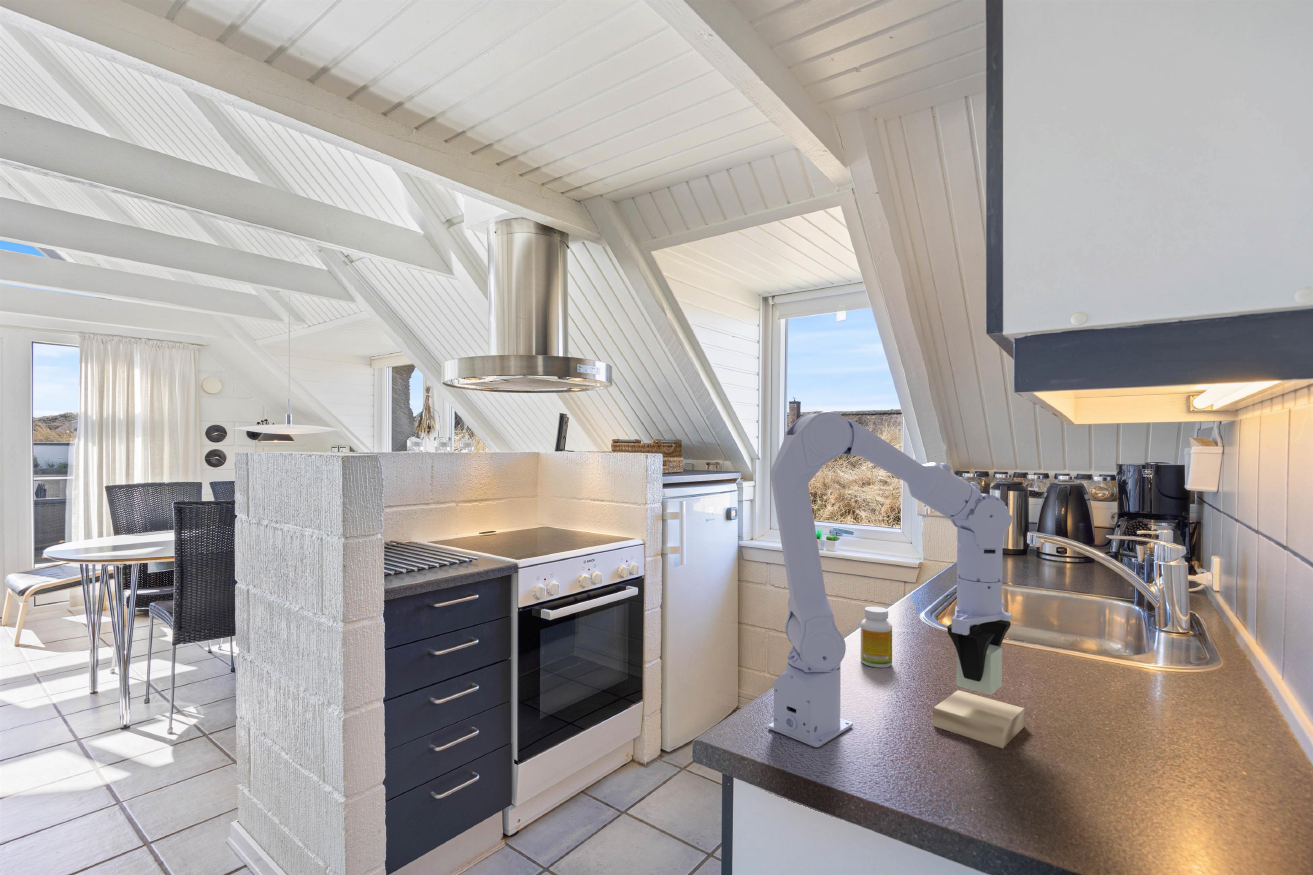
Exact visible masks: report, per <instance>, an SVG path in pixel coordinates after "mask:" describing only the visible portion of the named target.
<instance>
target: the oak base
mask: <svg viewBox="0 0 1313 875" xmlns="http://www.w3.org/2000/svg"><path fill="white" fill-rule="evenodd" d="M932 718H933V727H936V728H939V729H941V730H945V731H948V732H951V733H954V734H957V735H960V736H963V737H966V738H968V739H969V738H970V739H973V740H975V741H978V742H982V743H985V744H988V745H991V746H993V747H996V748H1000V749H1004V748H1006V746H1007V745H1008V744H1009V743H1010V742H1011V741H1012V739H1014V737H1016V736H1017V735H1018V734H1019V733H1020V732H1021V730H1023V728H1025V707H1021V706H1019V705H1018V706H1017V705H1013V704H1009V703H1007V702H1004V701H999V700H996V699H992V698H990V697H989V698H988V697H986V696H985V697H984V696H981V695H977V694H974V693H971V692H966V691H963V690H961V689H960V690H959V689H957V690H956V691H955V692H953V693H951V695H949V696H948V697H946V698H945V699H943V700H942V701H941V702H940V703H938V704H936V705H935V706H934V707H933V717H932Z"/></svg>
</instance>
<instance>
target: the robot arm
mask: <svg viewBox="0 0 1313 875" xmlns="http://www.w3.org/2000/svg"><path fill="white" fill-rule="evenodd" d="M841 455H844V456H845V455H846V456H854V457H855V456H857V457H860V458H861V459H864V460H866V461H867V462H869V463H870V464H873V465H874V466H877V467H878V468H880V469H882V470H883V471H885V472H886V473H889V474H890V475H892V476H894V477H896V478H898V479H900V480H902V481H903V482H905V483H906V484H907V487H908V491H909V494H910V496H911V497H912V498H914V499H916V500H917V501H918V502H920V503H922V504H924V505H925V506H927V507H928V508H930V509H931V510H934V511H935V512H937V513H938V514H940V515H942V516H943V517H946V519H949V520H950V522H951V524H952V525H953V526H954V527H955V528H957V529H956V534H957V535H956V540H957V541H956V605H955V608H954V615H953V617H952V618H951V624H949V625H947V628H946V629H947V631H946V632H947V634H948V635H949V637H950V639H951V640H952V642H953V644H954V647H955V649H956V650H957V653H958V656H959V660H960V664H961V668H962V672H963V676H964V678H966V679H970V680H974V681H978V682H979V681H981V679H982V676H983V671H984V664H985V657H986V653H987V649H988V646H989V644H990V645H995V646H999V647H1002V644H1003V641H1004V638H1005V636H1006V635H1007V633H1008V631H1009V629H1010V628H1011V625H1012V623H1011V621H1010V620H1012V618H1013V614H1012V613H1010V612H1006V611H1005V601H1004V600H1003V546H1004V536H1005V534H1006V532H1007V531H1008V530H1009V528H1010V527H1011V524H1012V523H1013V515H1012V514H1010V513H1009V510H1008V506H1006V503H1005V502H1004V501H1003V500H1002V499H1001V498H1000V497H998V496H996V495H993V494H988V493H981V490H980V488H981V485H979V484H978V483H976V482H972V481H970V482H969V481H966V480H965V479H963V478H961V477H960V476H959V475H957V474H955V473H953V472H951V471H952V469H953V467H952V466H951V465H949V464H947V463H944V462H941V463H936V462H933V461H932V462H927V463H924V464H921V463H919V462H918V461H916V460H915V459H913V458H912V457H911V456H909V455H908V454H906V453H904V452H903V451H901V450H900V449H898V448H897V447H895V446H894V445H893V444H891V443H889V442H888V441H886V440H885V439H883V438H882V437H881V436H879V435H877V434H875V433H874V432H872V430H870V429H868V428H866V427H864V426H863V425H862V424H860V423H858V422H856V421H854V420H851V419H846V418H845V416H843V415H842V414H840V413H838V412H835V411H830V410H829V411H821V412H819V413H807V414H804V415H801V416H800V417H798V418H797V419H796V420H795V422H793V423H792V424H791V425H790V426H789V428H787V430H786V431H785V432H784V437H783V441H782V443H781V445H780V448H779V451H778V453H777V455H776V457H775V460H774V463H773V464H772V467H771V470H770V481H771V482H770V483H771V487H772V492H773V493H772V494H773V499H774V505H775V511H776V517H777V524H778V531H779V535H780V536H779V537H780V542H781V549H782V555H783V562H784V567H785V573H786V579H787V580H786V581H787V585H788V593H789V597H788V600H787V607H788V616H787V619H786V622H785V626H784V627H785V628H784V629H785V635H786V637H787V640H788V641H789V643H790V644H791V645H792V647H791V649H790V651H789V653H788V655H787V664H786V667H785V670H784V672H782V673H781V674H780V675H779V676H778V677H777V678H776V679H775V682H774V686H773V722H771V723H769V724H768V729H769V730H772V731H774V732H777V733H779V734H782V735H784V736H786V737H788V738H792V739H794V740H796V741H798V742H801V743H804V744H806V745H809V746H811V747H813V748H820V747H821V746H823V745H824V744H826V743H828V742H829V741H831V740H832V739H834V738H836V737H837V736H839V735H840V734H843V733H844V732H846V731H847V730H848V729H851V728H852V727H853V726H854V723H853V721H850V720H847V719H845V718H842V717H841V666H842V665H841V663H842V662H843V659H844V658H845V655H846V652H847V650H846V646H847V645H846V641H845V638H844V636H843V635H842V633H841V631H840V630H839V629H838V628H837V625H836V622H835V615H834V612H833V609H832V607H831V604H830V602H829V599H828V597H827V592H826V587H825V581H824V580H825V579H824V576H823V575H824V574H823V569H822V562H821V554H820V550H819V549H820V548H819V545H818V544H819V543H818V538H817V530H816V525H815V519H814V512H813V505H812V501H811V494H810V488H809V483H810V482H811V480H812V479H813V478H815V476H816V475H817V473H819V471H820V470H821V469H822V468H823V466H825V465H827V464H828V463H830V462H832V461H833V460H836V459H837V458H838V457H839V456H841Z"/></svg>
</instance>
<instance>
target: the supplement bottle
mask: <svg viewBox="0 0 1313 875" xmlns="http://www.w3.org/2000/svg"><path fill="white" fill-rule="evenodd" d="M864 617H865V618H864V619H863V620H861V622H860V661H861V663H862V664H864V665H866V666H868V667H871V668H876V669H877V668H878V669H880V668H881V669H882V668H883V669H885V668H889V667H891V666H892V665H893V625H892V623H891V622H890V620H889V621H888V619H889V610H888V608H885V607H880V606H866V607H865V608H864Z"/></svg>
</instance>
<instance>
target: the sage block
mask: <svg viewBox="0 0 1313 875" xmlns="http://www.w3.org/2000/svg"><path fill="white" fill-rule="evenodd" d="M955 657H956V658H955V659H956V661H955V662H956V669H955V670H956V674H955V675H956V679H955V680H956V681H955V682H956V686H957V687H960V688H962V689H967V690H972V691H974V692H978V693H982V694H984V695H989V696H991V695H993V694H994V693H995V692H996V691H998V690H999V689H1000V688H1002V686H1003V647H1002V646H1001V647H999V646H995V645H990V644H989V646H988V649H987V653H986V657H985V664H984V671H983V676H982V679H981V681H979V682H978V681H974V680H970V679H966V678H964V676H963V672H962V668H961V664H960V660H959V656H958V653H957V650H956V656H955Z"/></svg>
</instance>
